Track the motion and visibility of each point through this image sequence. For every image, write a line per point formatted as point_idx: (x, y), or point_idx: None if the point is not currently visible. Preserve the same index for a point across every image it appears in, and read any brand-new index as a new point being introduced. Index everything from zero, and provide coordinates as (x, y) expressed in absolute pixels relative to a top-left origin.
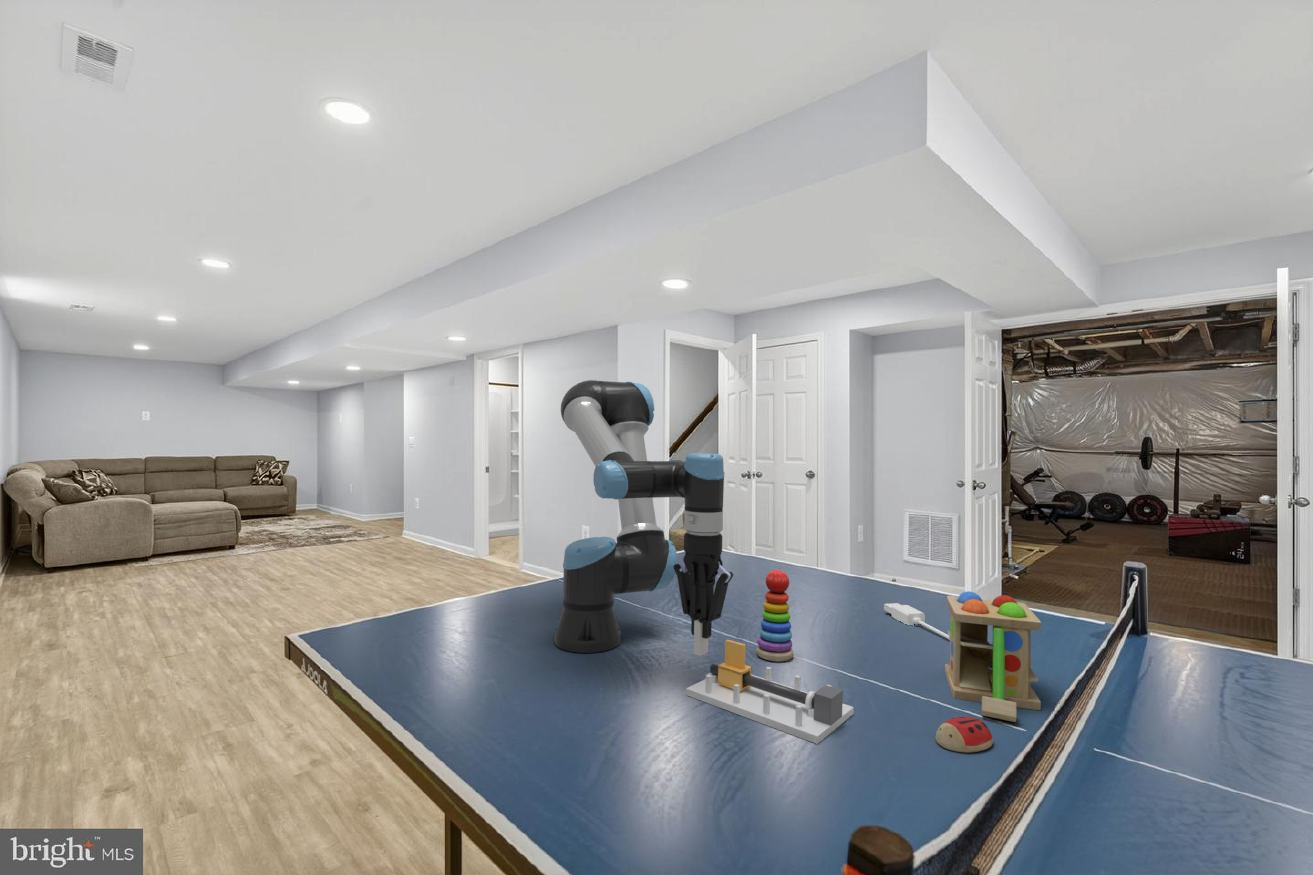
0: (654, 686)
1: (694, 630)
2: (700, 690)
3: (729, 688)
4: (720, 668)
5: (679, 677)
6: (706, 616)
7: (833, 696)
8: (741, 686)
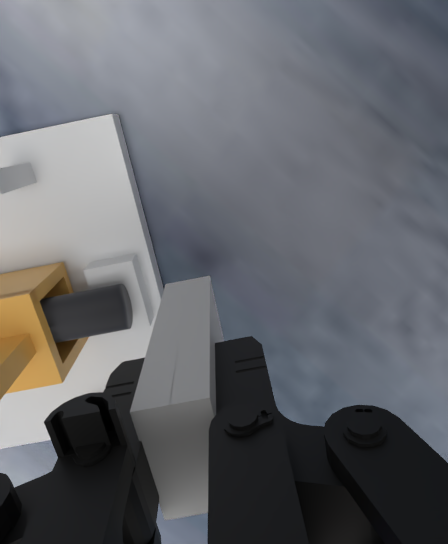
0: (277, 50)
1: (204, 345)
2: (59, 157)
3: None
4: (22, 291)
5: (282, 218)
6: (47, 494)
7: None
8: None
